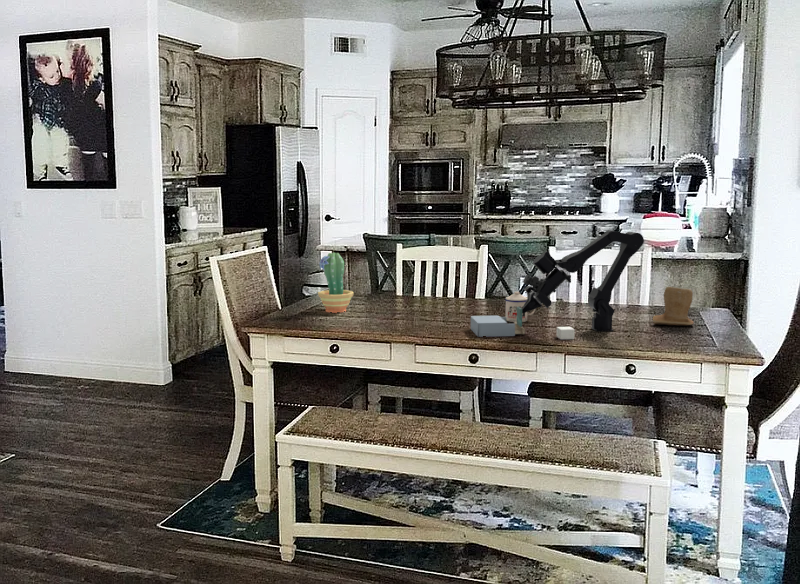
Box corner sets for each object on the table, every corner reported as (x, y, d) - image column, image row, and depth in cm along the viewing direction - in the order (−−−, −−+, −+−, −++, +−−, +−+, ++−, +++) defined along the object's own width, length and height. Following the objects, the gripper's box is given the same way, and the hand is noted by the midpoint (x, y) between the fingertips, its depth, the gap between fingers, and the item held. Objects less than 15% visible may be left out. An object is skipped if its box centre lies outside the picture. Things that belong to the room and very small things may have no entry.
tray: (515, 327, 297) (516, 305, 296) (524, 334, 284) (525, 311, 283) (480, 327, 296) (480, 305, 294) (487, 334, 283) (488, 311, 281)
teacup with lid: (504, 322, 309) (505, 293, 307) (504, 318, 318) (505, 289, 316) (535, 323, 307) (536, 293, 306) (534, 318, 316) (535, 290, 314)
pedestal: (569, 336, 283) (570, 326, 282) (574, 339, 278) (574, 329, 277) (556, 336, 282) (556, 326, 282) (560, 339, 277) (560, 329, 277)
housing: (505, 328, 297) (506, 315, 296) (514, 335, 283) (515, 322, 282) (470, 329, 296) (470, 316, 295) (477, 336, 282) (478, 323, 281)
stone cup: (692, 322, 308) (694, 285, 305) (694, 328, 296) (696, 289, 294) (651, 320, 312) (653, 283, 310) (652, 326, 301) (654, 287, 298)
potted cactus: (321, 307, 344) (320, 250, 340) (356, 308, 342) (355, 251, 338) (314, 313, 328) (313, 254, 325) (350, 314, 327) (350, 254, 323)
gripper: (530, 264, 296) (500, 293, 297) (543, 270, 278) (512, 301, 279) (549, 285, 298) (520, 313, 299) (564, 292, 280) (533, 323, 281)
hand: (521, 312), depth 289 cm, fingers closed, pressing on tray
